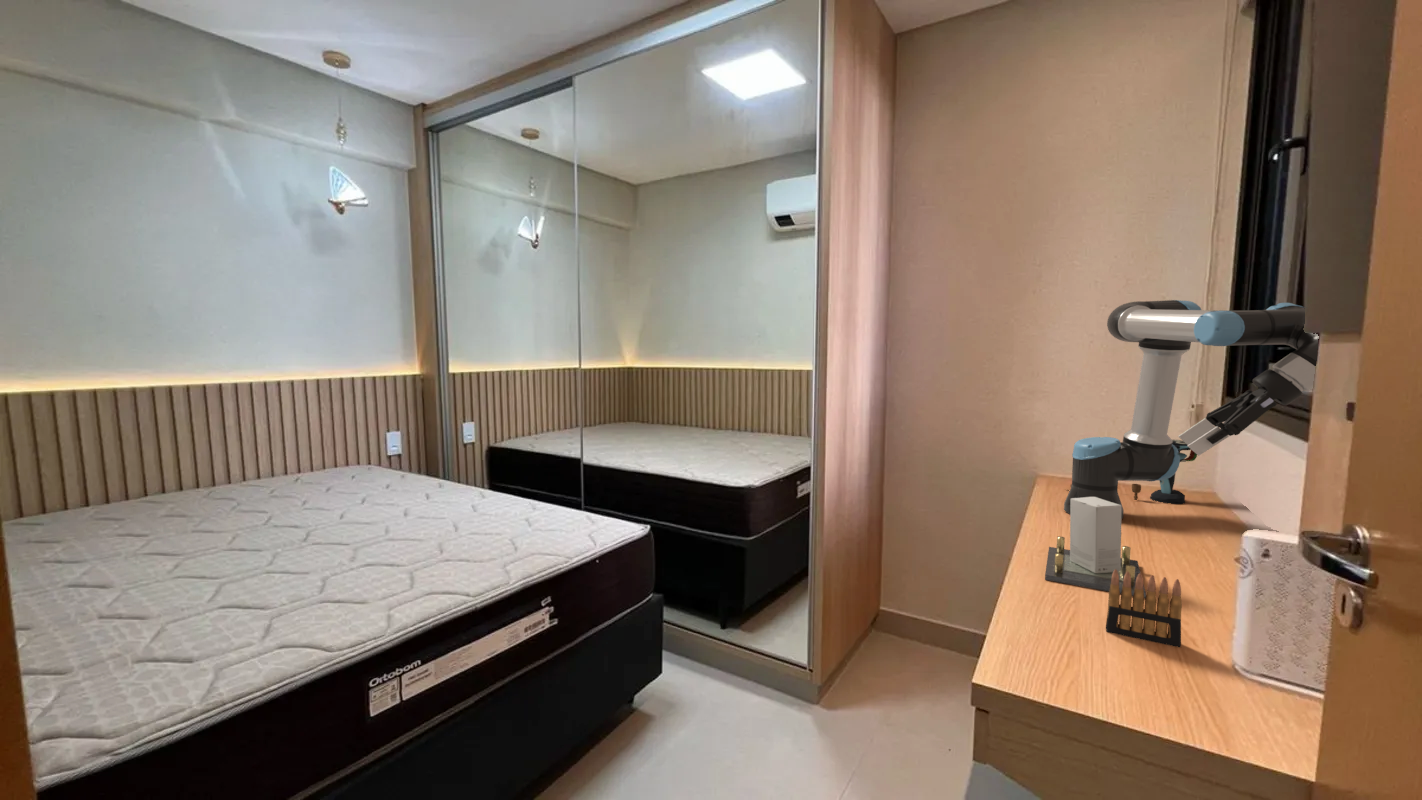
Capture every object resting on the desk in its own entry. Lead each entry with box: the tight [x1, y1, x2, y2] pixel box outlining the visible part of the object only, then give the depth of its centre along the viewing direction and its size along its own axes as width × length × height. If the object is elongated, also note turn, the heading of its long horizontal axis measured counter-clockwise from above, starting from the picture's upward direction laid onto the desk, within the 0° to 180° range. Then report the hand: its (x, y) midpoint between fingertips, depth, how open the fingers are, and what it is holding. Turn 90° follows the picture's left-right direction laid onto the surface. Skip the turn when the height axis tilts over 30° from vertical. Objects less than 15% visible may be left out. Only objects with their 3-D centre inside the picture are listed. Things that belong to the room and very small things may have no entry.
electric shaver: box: [1149, 439, 1198, 505], centre depth 182 cm, size 9×12×20 cm
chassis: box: [1044, 535, 1147, 599], centre depth 128 cm, size 20×18×5 cm
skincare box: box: [1069, 497, 1123, 573], centre depth 128 cm, size 8×7×16 cm
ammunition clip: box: [1105, 569, 1183, 648], centre depth 100 cm, size 11×2×12 cm, turn 58°
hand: (1187, 445), depth 125 cm, fingers open, 13 cm apart
